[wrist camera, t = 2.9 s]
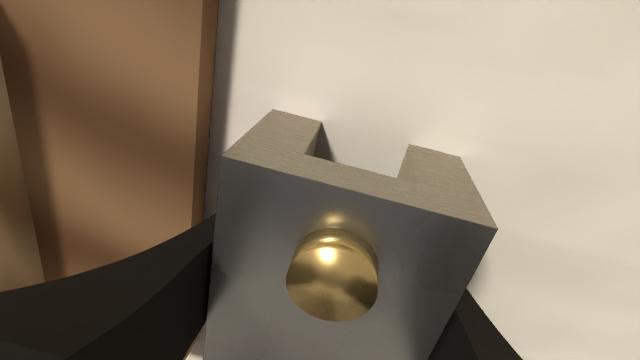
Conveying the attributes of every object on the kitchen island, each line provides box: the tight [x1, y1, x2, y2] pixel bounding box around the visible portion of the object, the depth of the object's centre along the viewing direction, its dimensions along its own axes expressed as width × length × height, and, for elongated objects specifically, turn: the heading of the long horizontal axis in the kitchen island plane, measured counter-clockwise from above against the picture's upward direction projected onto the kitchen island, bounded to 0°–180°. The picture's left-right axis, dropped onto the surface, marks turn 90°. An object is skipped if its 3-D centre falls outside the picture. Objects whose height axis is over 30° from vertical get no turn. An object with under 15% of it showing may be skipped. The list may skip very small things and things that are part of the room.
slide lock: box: [203, 110, 498, 360], centre depth 11 cm, size 8×6×5 cm
